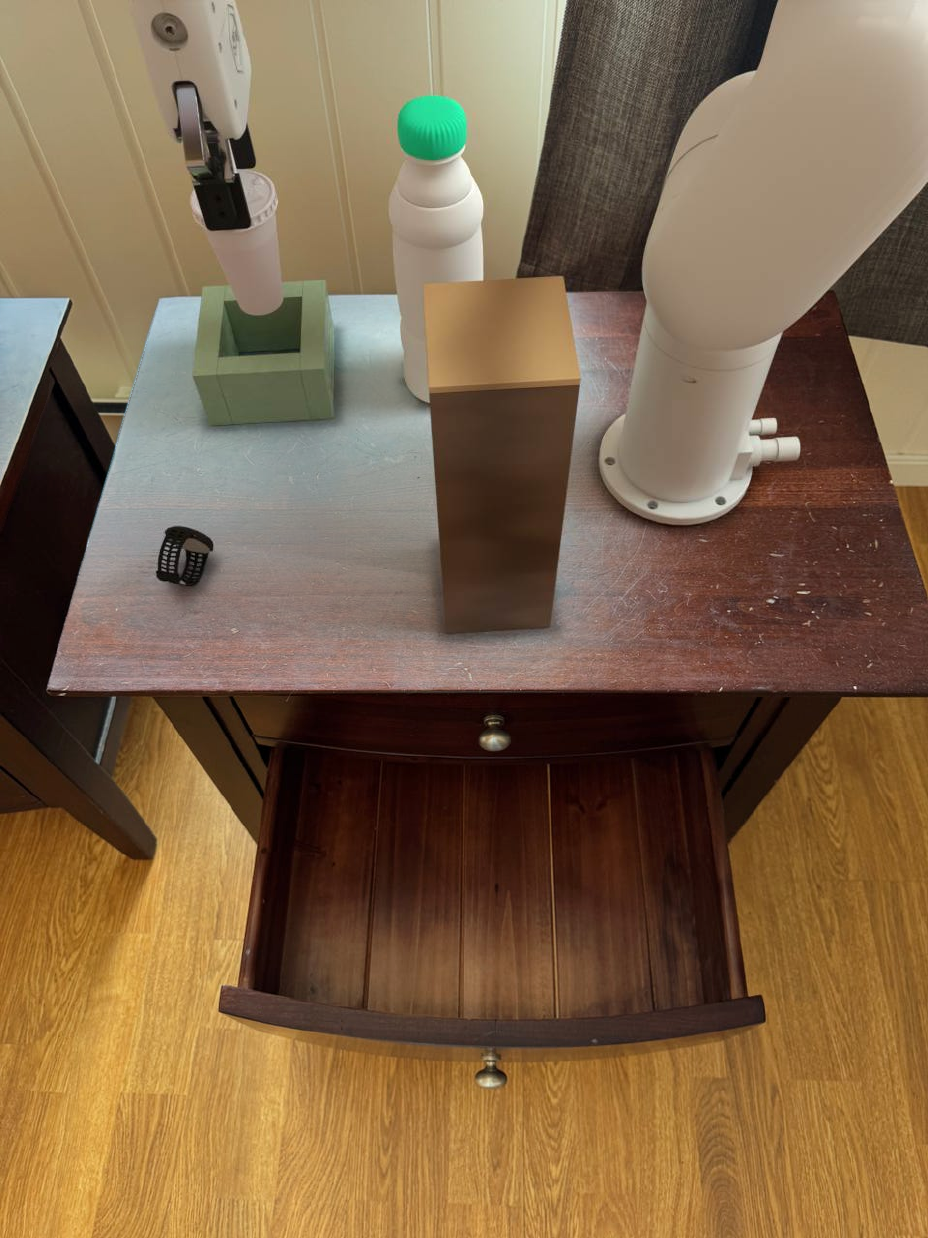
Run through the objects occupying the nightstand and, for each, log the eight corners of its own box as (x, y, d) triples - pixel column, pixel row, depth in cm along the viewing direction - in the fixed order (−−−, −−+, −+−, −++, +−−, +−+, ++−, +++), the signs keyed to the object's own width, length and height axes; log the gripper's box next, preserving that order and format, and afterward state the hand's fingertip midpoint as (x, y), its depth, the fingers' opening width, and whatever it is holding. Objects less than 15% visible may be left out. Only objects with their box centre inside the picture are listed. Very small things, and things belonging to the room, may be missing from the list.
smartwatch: (229, 565, 76) (214, 528, 71) (184, 611, 74) (165, 575, 69) (192, 541, 77) (174, 503, 73) (146, 585, 75) (125, 548, 70)
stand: (334, 331, 89) (325, 279, 84) (333, 418, 83) (324, 368, 78) (218, 338, 89) (202, 286, 84) (210, 425, 83) (192, 375, 78)
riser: (539, 541, 76) (563, 275, 54) (550, 627, 72) (581, 378, 50) (440, 547, 76) (422, 283, 54) (445, 634, 72) (428, 387, 50)
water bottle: (481, 350, 87) (481, 77, 66) (485, 407, 84) (486, 139, 62) (404, 353, 87) (379, 81, 66) (405, 410, 84) (378, 143, 62)
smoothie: (286, 331, 76) (246, 170, 64) (211, 322, 77) (157, 162, 65) (309, 277, 79) (274, 115, 67) (236, 269, 80) (189, 107, 68)
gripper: (211, -11, 50) (279, 271, 66) (231, -154, 59) (287, 124, 75) (69, -1, 50) (170, 279, 66) (111, -145, 59) (192, 130, 75)
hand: (232, 194), depth 70 cm, fingers closed on smoothie, 6 cm apart
